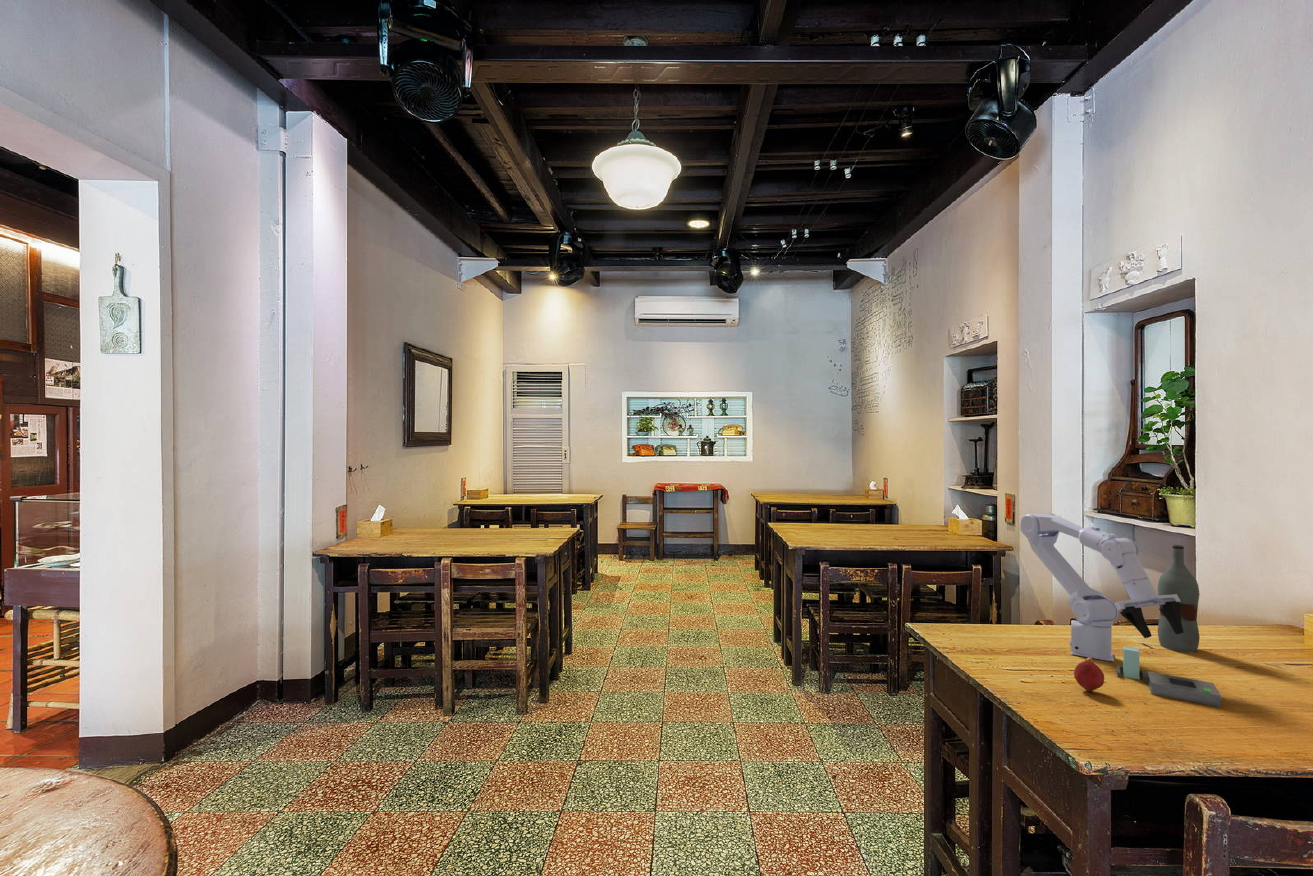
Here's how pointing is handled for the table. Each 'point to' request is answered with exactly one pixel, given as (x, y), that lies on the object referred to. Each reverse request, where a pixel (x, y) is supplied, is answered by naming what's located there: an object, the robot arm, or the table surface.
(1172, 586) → the bottle
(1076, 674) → the onion
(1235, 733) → the table surface
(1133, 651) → the plug
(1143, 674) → the holster
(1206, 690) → the port panel
